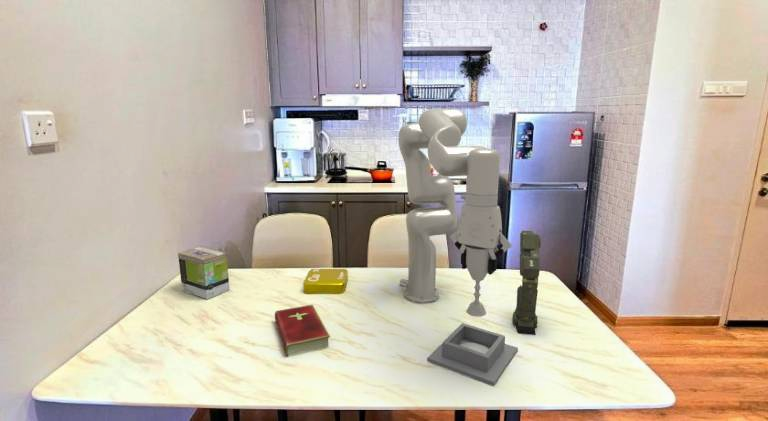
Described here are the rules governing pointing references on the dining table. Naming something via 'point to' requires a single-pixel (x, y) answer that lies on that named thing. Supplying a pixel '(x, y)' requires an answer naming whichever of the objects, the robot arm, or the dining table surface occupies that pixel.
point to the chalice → (477, 275)
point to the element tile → (326, 281)
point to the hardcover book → (301, 330)
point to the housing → (474, 353)
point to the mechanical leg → (527, 284)
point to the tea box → (204, 272)
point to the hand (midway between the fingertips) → (478, 269)
